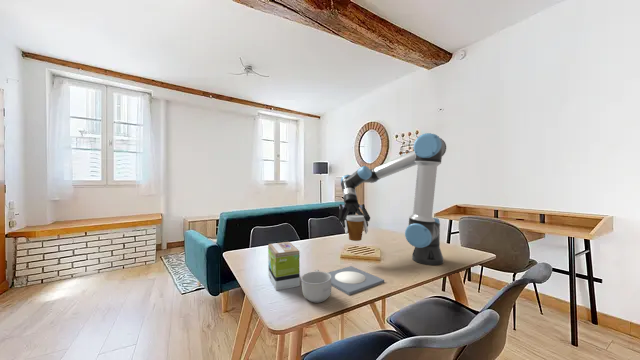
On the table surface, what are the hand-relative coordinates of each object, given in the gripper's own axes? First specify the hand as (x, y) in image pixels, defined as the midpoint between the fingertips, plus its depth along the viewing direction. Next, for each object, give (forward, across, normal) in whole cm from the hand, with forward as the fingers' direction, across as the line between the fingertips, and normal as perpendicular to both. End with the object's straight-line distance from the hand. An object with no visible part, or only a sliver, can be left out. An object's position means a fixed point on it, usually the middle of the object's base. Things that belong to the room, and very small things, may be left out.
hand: (356, 232), depth 121 cm
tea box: (+24, +35, 0) cm, 42 cm away
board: (+24, +7, +1) cm, 25 cm away
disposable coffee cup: (+1, 0, -6) cm, 6 cm away
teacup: (+33, +22, +10) cm, 41 cm away
